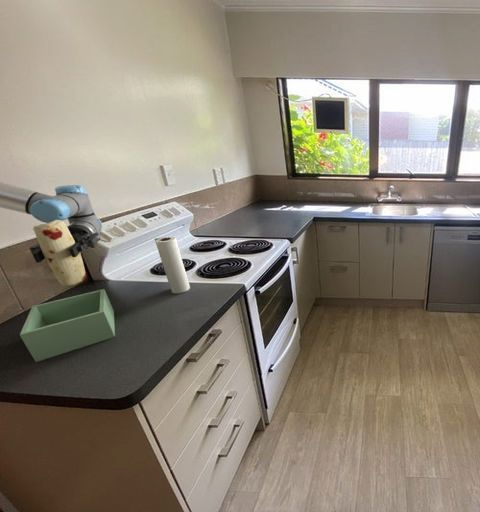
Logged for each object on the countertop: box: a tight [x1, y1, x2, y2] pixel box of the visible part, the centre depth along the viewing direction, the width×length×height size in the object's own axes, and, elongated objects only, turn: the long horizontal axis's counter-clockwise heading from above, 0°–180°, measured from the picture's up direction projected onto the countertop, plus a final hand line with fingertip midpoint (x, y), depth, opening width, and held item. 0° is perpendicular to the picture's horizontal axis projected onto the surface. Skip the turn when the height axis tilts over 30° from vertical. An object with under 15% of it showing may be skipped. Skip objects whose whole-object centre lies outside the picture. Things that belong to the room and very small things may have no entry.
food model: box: [32, 220, 87, 288], centre depth 88 cm, size 10×7×20 cm
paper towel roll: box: [154, 236, 191, 294], centre depth 109 cm, size 7×6×21 cm
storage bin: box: [19, 288, 116, 363], centre depth 86 cm, size 18×16×9 cm
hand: (54, 255), depth 83 cm, fingers closed on food model, 7 cm apart
